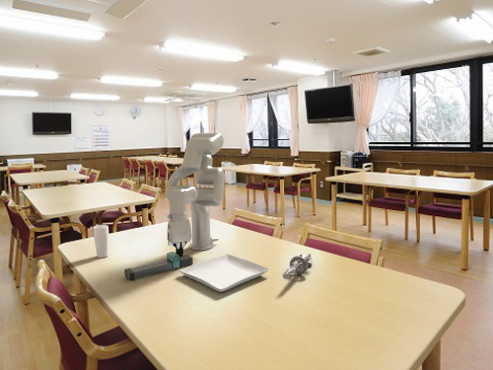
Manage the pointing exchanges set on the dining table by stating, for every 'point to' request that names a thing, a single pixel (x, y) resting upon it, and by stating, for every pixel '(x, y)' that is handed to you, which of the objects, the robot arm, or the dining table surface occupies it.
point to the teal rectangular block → (174, 259)
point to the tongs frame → (158, 268)
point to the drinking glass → (101, 240)
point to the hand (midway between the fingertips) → (179, 256)
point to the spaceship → (298, 265)
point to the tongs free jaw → (144, 266)
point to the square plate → (224, 272)
